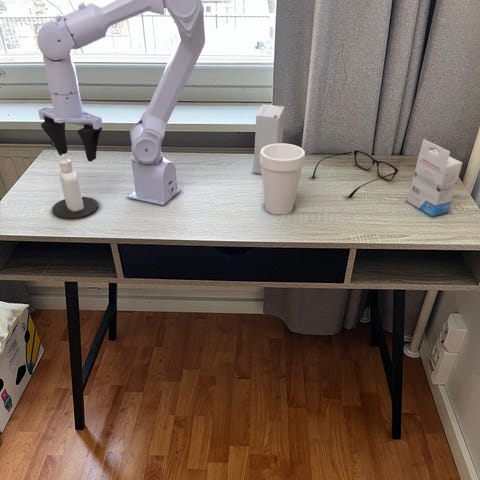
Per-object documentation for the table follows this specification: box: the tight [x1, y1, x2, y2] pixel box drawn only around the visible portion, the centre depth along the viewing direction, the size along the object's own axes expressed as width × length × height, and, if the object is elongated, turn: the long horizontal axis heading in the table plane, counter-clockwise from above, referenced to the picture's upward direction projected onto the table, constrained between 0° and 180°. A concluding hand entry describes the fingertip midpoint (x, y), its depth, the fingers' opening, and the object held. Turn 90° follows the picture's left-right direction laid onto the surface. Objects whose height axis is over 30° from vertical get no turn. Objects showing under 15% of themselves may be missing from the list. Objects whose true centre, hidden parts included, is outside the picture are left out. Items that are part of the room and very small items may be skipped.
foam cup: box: [260, 142, 306, 215], centre depth 109 cm, size 10×9×13 cm
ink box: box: [407, 138, 463, 217], centre depth 110 cm, size 8×5×15 cm, turn 26°
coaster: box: [51, 196, 99, 220], centre depth 113 cm, size 10×10×1 cm
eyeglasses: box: [311, 149, 400, 199], centre depth 124 cm, size 16×16×4 cm
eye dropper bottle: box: [58, 154, 84, 212], centre depth 109 cm, size 4×6×12 cm
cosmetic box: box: [253, 103, 286, 175], centre depth 125 cm, size 8×6×15 cm
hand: (77, 156), depth 109 cm, fingers open, 7 cm apart
